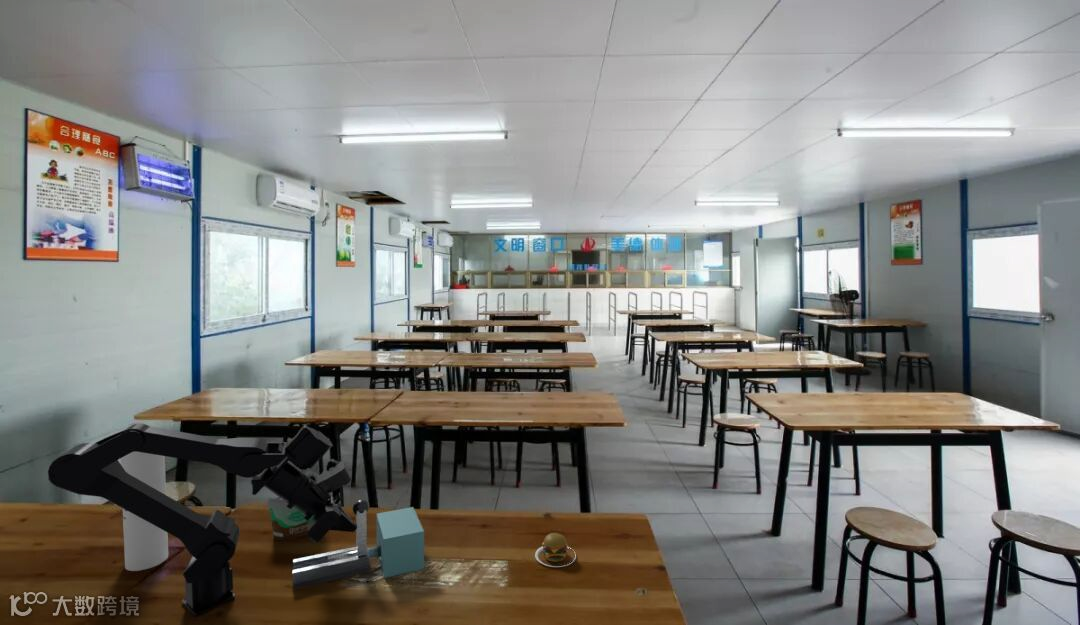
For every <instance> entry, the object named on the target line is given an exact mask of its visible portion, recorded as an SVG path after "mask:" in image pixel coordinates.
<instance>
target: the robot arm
mask: <svg viewBox="0 0 1080 625" xmlns="http://www.w3.org/2000/svg"><path fill="white" fill-rule="evenodd" d="M332 447H334V444H333V443H332V442H331V440H330V439H329V438H328V437H327V436H326V435H324V433H322V432H321V431H320V430H316V429H314V428H312V427H309V426H308V425H307V424H304V425H303V426H302V427H301V428H300V429H299V430H298V431H297V433H296V435H294V437H293V438H292V439H291V440H290V441H289V442H286V441H285V442H283V441H282V442H281V441H278V442H277V441H276V442H274V441H273V442H271V441H270V442H269V441H266V440H265V439H263V438H257V437H234V438H233V437H232V438H216V437H212V436H211V437H210V436H205V435H200V434H195V433H189V432H185V431H184V432H183V431H178V430H173V429H166V428H163V427H155V426H150V425H148V424H146V423H137V422H136V423H133V424H132V425H130V426H128V427H127V428H125V429H123V430H121V431H118V432H116V433H113V434H112V435H108V436H107V437H104V438H102V439H101V440H98V441H96V442H92V441H91V442H85V443H79V444H76V445H74V446H73V447H71V448H70V449H68V450H67V451H66V452H64V453H63V454H61V455H59V456H58V457H57V458H55V460H53V461H52V462H51V464H50V465H49V467H48V470H47V475H48V481H49V483H50V484H52V485H53V486H54V487H56V488H59V489H62V490H65V491H67V492H71V493H74V494H77V495H81V496H88V497H89V496H90V497H99V498H102V499H105V500H107V501H108V502H111V503H112V504H114V505H116V506H118V507H120V508H121V509H122V510H123V509H125V510H127V511H129V512H131V513H132V514H134V515H136V516H138V517H140V518H142V519H143V520H145V521H147V522H149V523H151V524H153V525H155V526H156V527H158V528H160V529H162V530H164V531H166V532H167V533H168V534H169V535H171V536H173V537H175V538H177V539H178V540H179V541H180V542H181V543H182V544H183V546H184V547H185V549H186V551H187V552H188V554H190V558H189V560H188V562H187V564H186V567H185V569H184V571H183V574H182V575H183V577H184V579H185V580H184V582H185V598H183V599H182V600H181V602H182V605H184V606H185V608H187V610H189V611H190V612H191V613H192V614H193V615H194V616H200V615H201V614H203V613H206V612H208V611H209V610H212V609H214V608H216V607H218V606H220V605H222V604H224V603H227V602H228V601H229V602H230V601H231V600H233V599H234V598H235V596H236V595H235V593H234V592H233V590H234V569H233V568H232V567H231V562H229V561H230V560H231V559H232V558H233V557H234V555H235V552H236V549H237V547H238V546H237V545H238V542H239V538H240V535H241V534H240V527H239V525H238V524H237V523H236V522H235V521H236V518H234V517H230V516H227V515H226V514H224V513H223V511H221V510H220V509H215V510H214V511H213V512H212V514H201V513H198V512H196V511H194V510H193V509H192V508H189V507H187V506H186V505H184V504H182V503H180V502H179V501H176V500H175V499H174V498H172V497H170V496H169V495H167V494H166V495H165V494H163V493H161V492H160V491H158V490H156V489H154V488H153V487H151V486H149V485H147V484H146V483H144V482H142V481H140V480H139V479H137V478H135V477H133V476H131V475H130V474H128V473H127V472H126V471H125V470H124V468H123V467H122V466H121V462H120V461H119V460H121V459H120V458H122V457H124V456H126V455H128V454H130V453H132V452H142V453H148V454H155V455H161V456H165V457H169V458H175V459H180V460H187V461H192V462H193V461H194V462H199V463H205V464H210V465H213V466H216V467H218V468H219V469H221V470H222V471H225V472H226V473H230V474H233V475H236V476H238V477H242V478H249V479H251V480H250V484H251V486H252V490H251V491H252V492H251V494H252V495H253V496H256V495H257V494H259V493H260V491H261V490H262V489H263V488H265V489H268V491H269V492H271V493H273V494H274V495H276V496H277V497H278V498H279V497H280V498H282V499H283V500H284V501H286V502H287V505H286V506H287V507H288V508H290V509H291V508H292V507H295V508H296V509H298V510H299V511H301V512H302V513H303V514H304V519H306V520H307V521H308V520H309V519H310V518H311V517H312V516H314V517H313V518H312V519H311V521H310V522H309V523H308V535H307V539H308V540H310V541H312V542H313V543H314V544H318V543H319V542H320V541H321V540H322V539H323V538H324V537H325V535H326V534H328V532H329V531H334V532H335V531H337V532H348V533H355V532H356V529H357V526H356V522H354V521H353V519H352V518H351V517H350V516H349V515H348V513H347V512H346V511H345V509H344V508H343V506H342V501H341V494H340V492H337V493H336V495H334V496H332V495H331V494H330V493H333V492H334V491H336V490H338V489H339V488H341V487H343V486H347V485H348V484H350V483H351V482H352V475H351V473H350V471H349V469H348V467H347V466H346V463H344V462H343V461H342V460H340V461H338V460H335V459H334V458H332V459H329V460H328V461H326V464H325V465H326V466H325V469H326V470H323V471H322V473H320V474H319V475H315V474H314V473H308V474H305V473H304V472H303V471H302V470H304V471H306V470H308V469H312V468H313V467H314V466H315V465H317V463H318V462H319V461H320V460H321V458H323V457H324V456H325V454H326V453H328V452H329V450H330V449H331V448H332Z"/></svg>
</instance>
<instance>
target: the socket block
mask: <svg viewBox="0 0 1080 625" xmlns="http://www.w3.org/2000/svg"><path fill="white" fill-rule="evenodd" d="M380 545H381V557H378V558H379V562H380V566H381V571H382V574H383V578H384V579H386V578H390V577H391V578H392V577H393V576H398V575H403V574H407V573H412V572H415V571H419V570H424V569H425V530H424V528H423V525H422V524H421V521H420V520H419V517H418V515H417V512H416V510H415V508H414V506H412V507H411V506H410V507H406V508H401V509H400V508H399V509H395V510H394V509H393V510H388V511H383V512H378V513H376V546H380Z"/></svg>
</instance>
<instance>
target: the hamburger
mask: <svg viewBox="0 0 1080 625" xmlns="http://www.w3.org/2000/svg"><path fill="white" fill-rule="evenodd" d="M541 545H542V546H541V547H539V548H537V550H536V551H535V553H534V557H535V559H536V561H537V562H538V563H540V564H542V565H544V566H546V567H549V568H550V567H551V568H562V567H567V566H570V565H571V564H573V563H574V562H575V560H576V559H577V554H576V552H575V550H574V549H572V548H571V547H570V546H569V545H568V543H567V539H566V537H565V536H564V535H563V534H561V533H558V532H551V533H549V534H547V535H546V536H545V537H544V539H543V542H542V544H541ZM569 548H570V549H572V550H573V551H574V553H575V558H574V560H573V561H572V562H571V561H570V562H571V563H570V562H568V563H569V564H568V563H567V565H566V564H563V565H559V566H557V565H555V566H554V565H549V564H547V563H544V562H543V561H542V560H541V559H540V555H541V553H542V554H543V557H544V558H545V560H547V561H549V562H552V563H558V562H559V561H560V562H563V561H564V560H565V559H566V557H567V553H568V551H567V549H569Z"/></svg>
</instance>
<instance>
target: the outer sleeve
mask: <svg viewBox="0 0 1080 625" xmlns="http://www.w3.org/2000/svg"><path fill="white" fill-rule="evenodd" d="M356 550H357V548H356V546H353V547H348V548H342V549H337V550H332V551H328V552H323V553H318V554H314V555H309V556H308V555H307V556H304V557H299V558H293V559H292V590H297V589H300V588H305V587H309V586H314V585H318V584H322V583H323V584H324V583H326V582H331V581H336V580H341V579H344V578H349V577H353V576H357V575H362V574H366V573H369V572H370V559H369V554H365V555H361V556H356V557H351V558H347V559H342V560H337V561H333V562H328V561H327V556H332V555H336V554H341V553H346V552H351V551H356Z"/></svg>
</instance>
